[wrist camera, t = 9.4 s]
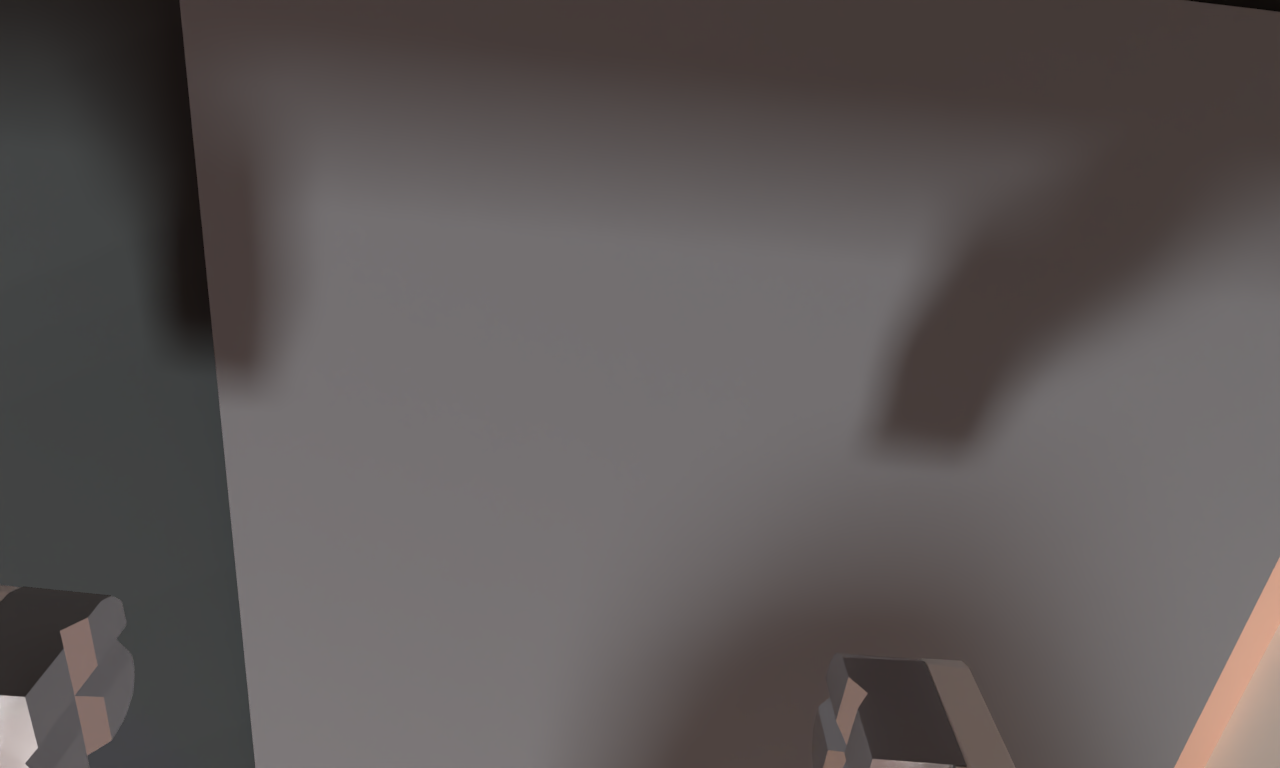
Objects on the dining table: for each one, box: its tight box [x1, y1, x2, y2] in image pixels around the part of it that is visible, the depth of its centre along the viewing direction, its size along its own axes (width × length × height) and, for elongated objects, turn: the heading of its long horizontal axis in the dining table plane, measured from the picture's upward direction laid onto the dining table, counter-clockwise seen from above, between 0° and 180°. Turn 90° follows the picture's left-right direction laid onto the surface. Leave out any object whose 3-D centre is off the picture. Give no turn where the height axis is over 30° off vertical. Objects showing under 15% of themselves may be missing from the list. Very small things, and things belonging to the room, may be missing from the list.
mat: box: [179, 0, 1280, 768], centre depth 14 cm, size 16×29×1 cm, turn 84°
